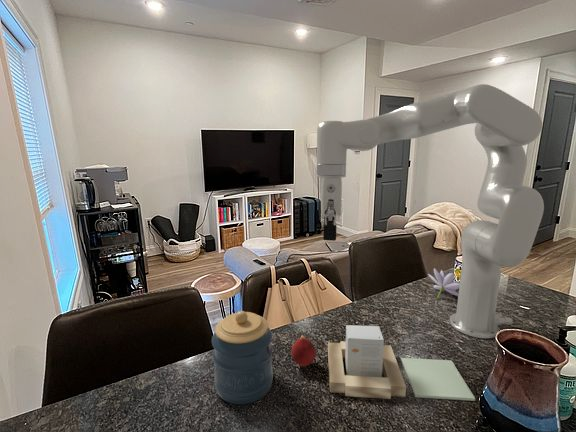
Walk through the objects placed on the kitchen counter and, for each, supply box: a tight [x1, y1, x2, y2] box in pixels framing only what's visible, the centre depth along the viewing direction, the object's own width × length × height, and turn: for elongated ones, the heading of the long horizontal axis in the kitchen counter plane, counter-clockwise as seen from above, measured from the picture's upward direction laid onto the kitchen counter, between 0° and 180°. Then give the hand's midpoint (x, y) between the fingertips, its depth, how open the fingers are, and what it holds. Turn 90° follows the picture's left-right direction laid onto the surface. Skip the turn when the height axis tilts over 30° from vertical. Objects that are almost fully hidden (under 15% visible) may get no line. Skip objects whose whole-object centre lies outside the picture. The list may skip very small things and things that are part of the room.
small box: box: [344, 324, 385, 377], centre depth 73 cm, size 8×6×10 cm
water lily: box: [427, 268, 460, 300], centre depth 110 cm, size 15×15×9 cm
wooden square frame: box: [327, 340, 407, 400], centre depth 74 cm, size 16×16×2 cm
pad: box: [400, 357, 476, 402], centre depth 72 cm, size 12×12×1 cm
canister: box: [211, 310, 274, 405], centre depth 69 cm, size 13×13×18 cm
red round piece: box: [290, 335, 317, 367], centre depth 76 cm, size 6×6×8 cm
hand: (329, 234), depth 85 cm, fingers open, 9 cm apart
